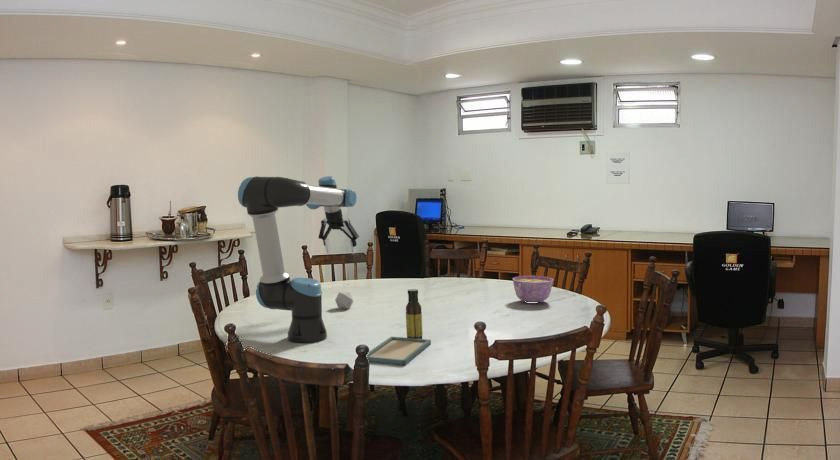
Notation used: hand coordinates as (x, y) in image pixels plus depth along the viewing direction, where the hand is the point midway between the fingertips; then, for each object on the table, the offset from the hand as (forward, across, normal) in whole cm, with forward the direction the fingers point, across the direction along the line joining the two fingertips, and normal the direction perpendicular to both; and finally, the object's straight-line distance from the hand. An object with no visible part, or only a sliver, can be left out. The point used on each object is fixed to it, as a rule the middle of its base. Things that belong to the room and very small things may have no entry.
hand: (341, 252), depth 302 cm
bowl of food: (+44, -78, -39) cm, 98 cm away
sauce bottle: (+16, -52, +43) cm, 70 cm away
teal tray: (+11, -53, +60) cm, 81 cm away
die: (+28, +2, +5) cm, 28 cm away
